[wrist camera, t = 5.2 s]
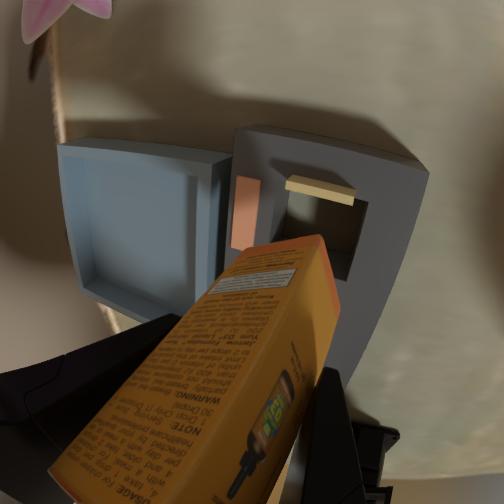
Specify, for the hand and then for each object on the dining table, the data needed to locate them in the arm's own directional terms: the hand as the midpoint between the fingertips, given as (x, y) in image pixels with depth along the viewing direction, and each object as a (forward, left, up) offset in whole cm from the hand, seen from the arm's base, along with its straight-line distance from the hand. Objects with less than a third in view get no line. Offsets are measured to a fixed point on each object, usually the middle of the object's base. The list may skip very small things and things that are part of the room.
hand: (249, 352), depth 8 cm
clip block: (-6, 0, -11) cm, 13 cm away
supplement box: (0, 0, -4) cm, 4 cm away
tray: (-4, +12, -11) cm, 18 cm away
